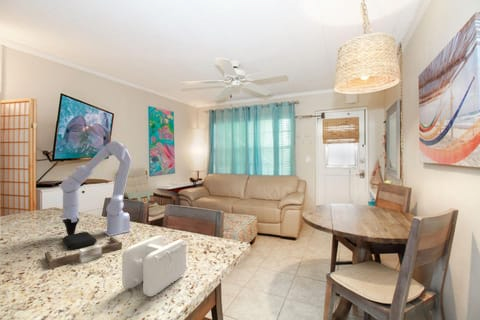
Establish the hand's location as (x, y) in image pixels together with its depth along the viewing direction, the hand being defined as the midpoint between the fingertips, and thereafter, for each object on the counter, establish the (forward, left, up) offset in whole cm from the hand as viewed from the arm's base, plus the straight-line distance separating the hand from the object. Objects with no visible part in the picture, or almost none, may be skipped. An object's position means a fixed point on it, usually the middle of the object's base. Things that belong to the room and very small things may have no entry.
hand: (70, 234), depth 101 cm
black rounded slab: (0, +11, -2) cm, 11 cm away
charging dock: (0, +26, -1) cm, 26 cm away
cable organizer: (-9, +63, -1) cm, 64 cm away
